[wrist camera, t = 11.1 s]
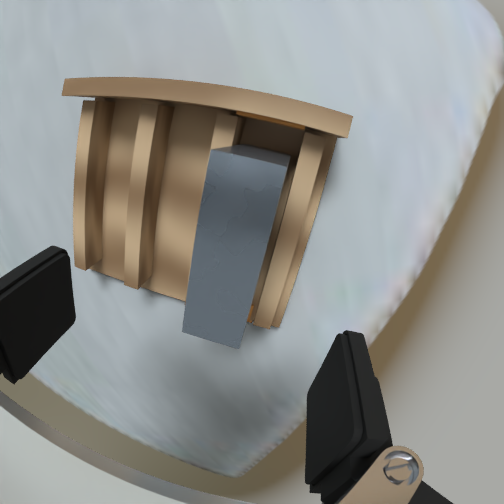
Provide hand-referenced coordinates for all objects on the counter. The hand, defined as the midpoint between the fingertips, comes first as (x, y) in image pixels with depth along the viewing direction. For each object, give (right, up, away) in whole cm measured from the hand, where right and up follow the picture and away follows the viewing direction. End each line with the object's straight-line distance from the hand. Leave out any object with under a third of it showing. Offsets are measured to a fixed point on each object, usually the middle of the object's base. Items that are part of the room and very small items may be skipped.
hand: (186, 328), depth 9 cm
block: (+2, +5, +11) cm, 12 cm away
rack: (-3, +6, +12) cm, 14 cm away
